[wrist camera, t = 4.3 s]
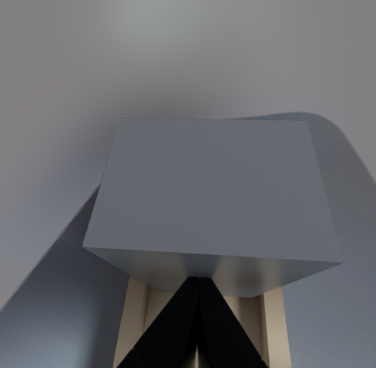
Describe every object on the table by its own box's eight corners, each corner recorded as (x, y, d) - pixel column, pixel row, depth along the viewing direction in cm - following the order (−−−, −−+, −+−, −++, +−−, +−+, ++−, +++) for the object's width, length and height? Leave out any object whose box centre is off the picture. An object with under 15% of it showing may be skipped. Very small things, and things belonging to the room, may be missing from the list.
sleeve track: (291, 500, 11) (390, 700, 5) (106, 474, 11) (15, 626, 6) (259, 176, 20) (282, 120, 14) (156, 172, 20) (139, 118, 15)
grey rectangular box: (250, 297, 13) (344, 262, 5) (156, 290, 14) (81, 246, 5) (247, 231, 15) (307, 120, 7) (164, 227, 16) (120, 117, 7)
